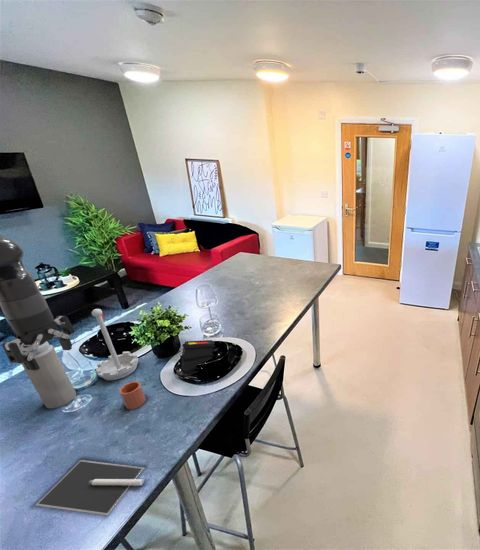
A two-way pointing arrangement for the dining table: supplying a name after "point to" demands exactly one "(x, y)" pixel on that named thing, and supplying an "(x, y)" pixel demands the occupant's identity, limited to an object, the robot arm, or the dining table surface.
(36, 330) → the robot arm
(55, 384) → the thermos bottle
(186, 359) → the striped top black block
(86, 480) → the tablet
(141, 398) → the pen cup
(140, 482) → the stylus
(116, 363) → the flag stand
